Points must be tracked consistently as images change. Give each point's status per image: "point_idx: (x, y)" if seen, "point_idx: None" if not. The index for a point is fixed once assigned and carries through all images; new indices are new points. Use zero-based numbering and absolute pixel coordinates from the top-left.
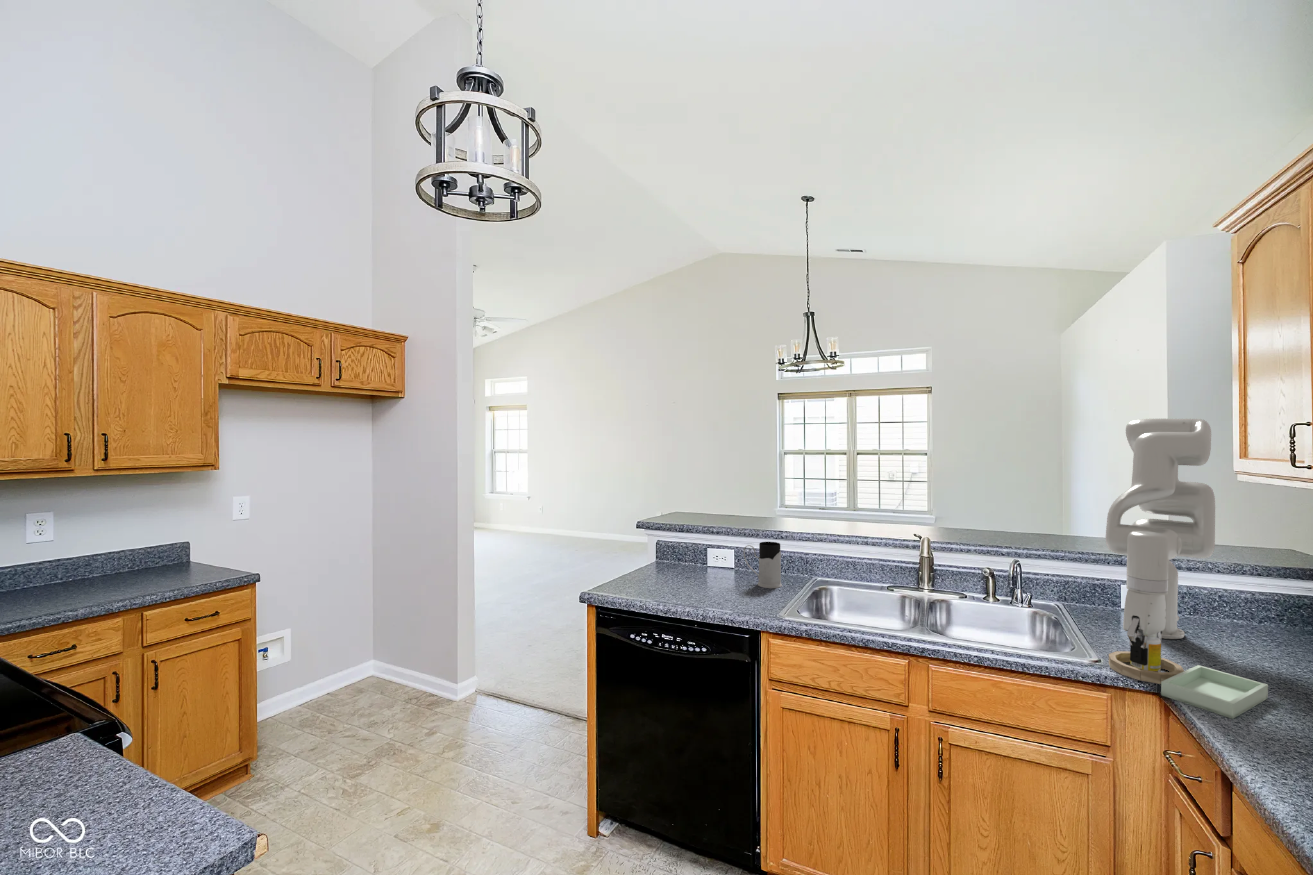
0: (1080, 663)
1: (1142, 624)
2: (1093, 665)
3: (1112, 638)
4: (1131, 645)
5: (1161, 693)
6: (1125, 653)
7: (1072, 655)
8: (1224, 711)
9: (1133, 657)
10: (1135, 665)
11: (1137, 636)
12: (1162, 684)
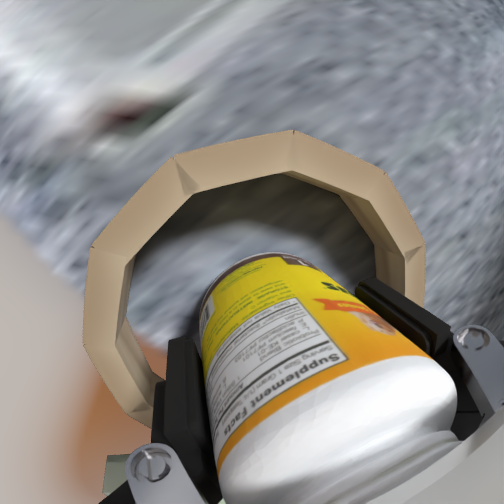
0: (17, 137)
1: None
2: (53, 174)
3: (465, 19)
4: (166, 434)
5: (107, 460)
6: (321, 180)
7: (86, 28)
8: None
9: (156, 390)
10: (200, 333)
11: (279, 498)
12: (105, 486)
